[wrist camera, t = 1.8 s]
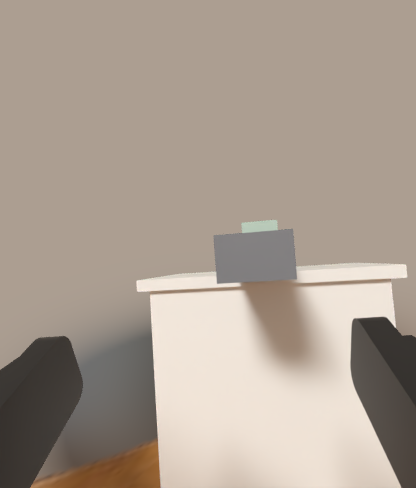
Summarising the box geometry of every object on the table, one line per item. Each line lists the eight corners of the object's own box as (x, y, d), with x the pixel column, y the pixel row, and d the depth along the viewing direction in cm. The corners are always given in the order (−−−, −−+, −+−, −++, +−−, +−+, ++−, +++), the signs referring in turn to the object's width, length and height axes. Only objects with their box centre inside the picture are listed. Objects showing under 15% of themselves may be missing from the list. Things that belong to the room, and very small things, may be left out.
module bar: (216, 283, 16) (209, 178, 16) (247, 269, 40) (244, 226, 40) (297, 279, 15) (287, 169, 16) (279, 267, 39) (276, 223, 39)
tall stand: (156, 667, 26) (136, 280, 28) (195, 526, 40) (179, 273, 42) (454, 720, 22) (405, 264, 24) (383, 543, 36) (355, 262, 38)
